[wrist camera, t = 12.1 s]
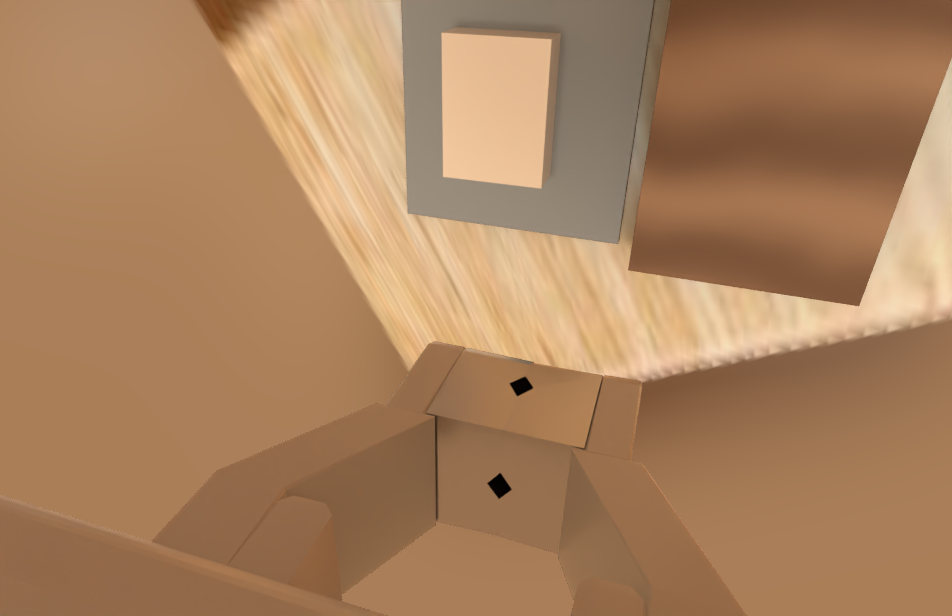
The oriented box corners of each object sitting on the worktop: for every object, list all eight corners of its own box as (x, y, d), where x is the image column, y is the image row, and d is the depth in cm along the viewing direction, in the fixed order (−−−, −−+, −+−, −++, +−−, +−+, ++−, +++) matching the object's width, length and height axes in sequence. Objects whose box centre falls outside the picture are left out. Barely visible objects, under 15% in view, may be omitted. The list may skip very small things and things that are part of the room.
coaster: (551, 39, 33) (560, 33, 35) (441, 32, 35) (456, 27, 37) (541, 188, 37) (550, 175, 39) (443, 176, 39) (456, 164, 41)
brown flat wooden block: (682, -51, 32) (679, -49, 29) (956, -42, 29) (986, -38, 26) (635, 242, 41) (628, 270, 37) (845, 273, 38) (858, 306, 34)
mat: (404, -40, 37) (399, -40, 36) (658, -29, 33) (657, -29, 33) (411, 210, 44) (407, 213, 44) (618, 240, 41) (617, 244, 40)
